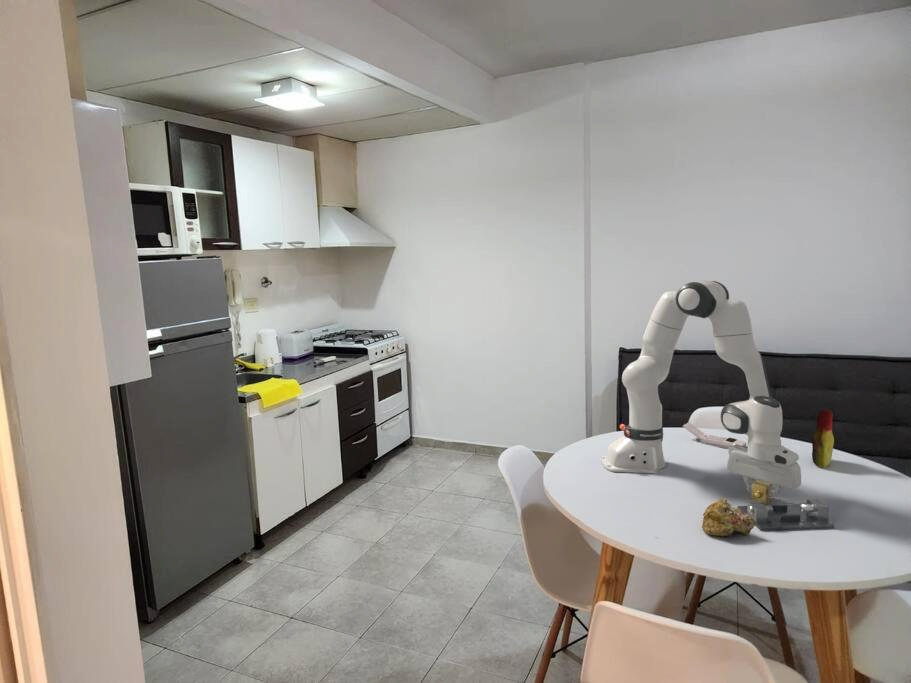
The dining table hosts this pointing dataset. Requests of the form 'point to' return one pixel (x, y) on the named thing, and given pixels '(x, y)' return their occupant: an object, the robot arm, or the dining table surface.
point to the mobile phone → (713, 438)
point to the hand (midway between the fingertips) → (761, 493)
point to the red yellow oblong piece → (823, 439)
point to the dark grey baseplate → (789, 515)
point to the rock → (726, 519)
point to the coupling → (761, 491)
